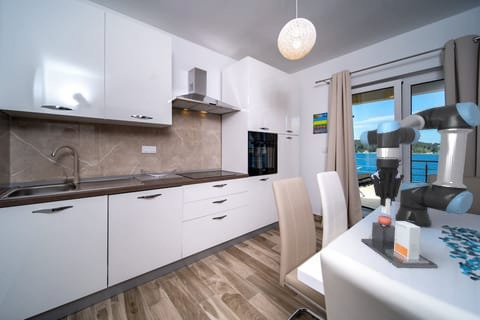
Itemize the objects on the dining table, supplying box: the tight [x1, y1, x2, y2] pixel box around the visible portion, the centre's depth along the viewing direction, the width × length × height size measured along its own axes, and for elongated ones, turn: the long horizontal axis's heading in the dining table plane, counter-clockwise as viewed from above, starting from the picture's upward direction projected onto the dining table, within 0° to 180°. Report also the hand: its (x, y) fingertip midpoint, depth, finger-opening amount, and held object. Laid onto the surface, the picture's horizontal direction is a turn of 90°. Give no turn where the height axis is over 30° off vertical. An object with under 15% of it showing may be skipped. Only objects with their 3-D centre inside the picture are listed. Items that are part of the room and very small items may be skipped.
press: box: [360, 221, 438, 269], centre depth 73 cm, size 14×19×9 cm
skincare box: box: [394, 220, 422, 260], centre depth 68 cm, size 6×4×12 cm
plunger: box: [377, 215, 392, 226], centre depth 79 cm, size 4×4×10 cm
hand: (385, 213), depth 78 cm, fingers closed
